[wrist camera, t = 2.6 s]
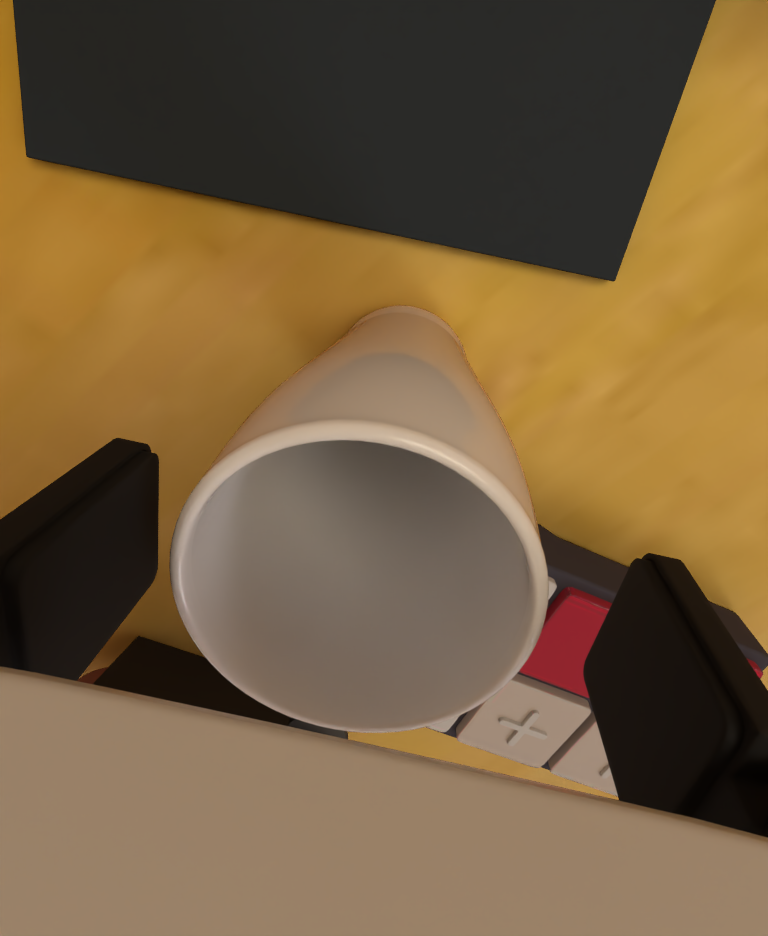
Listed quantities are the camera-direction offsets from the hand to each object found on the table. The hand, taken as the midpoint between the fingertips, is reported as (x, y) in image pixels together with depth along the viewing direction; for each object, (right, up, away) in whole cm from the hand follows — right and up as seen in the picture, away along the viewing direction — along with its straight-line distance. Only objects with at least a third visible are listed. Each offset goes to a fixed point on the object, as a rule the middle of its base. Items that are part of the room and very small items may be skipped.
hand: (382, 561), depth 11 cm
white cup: (+1, +6, +12) cm, 14 cm away
